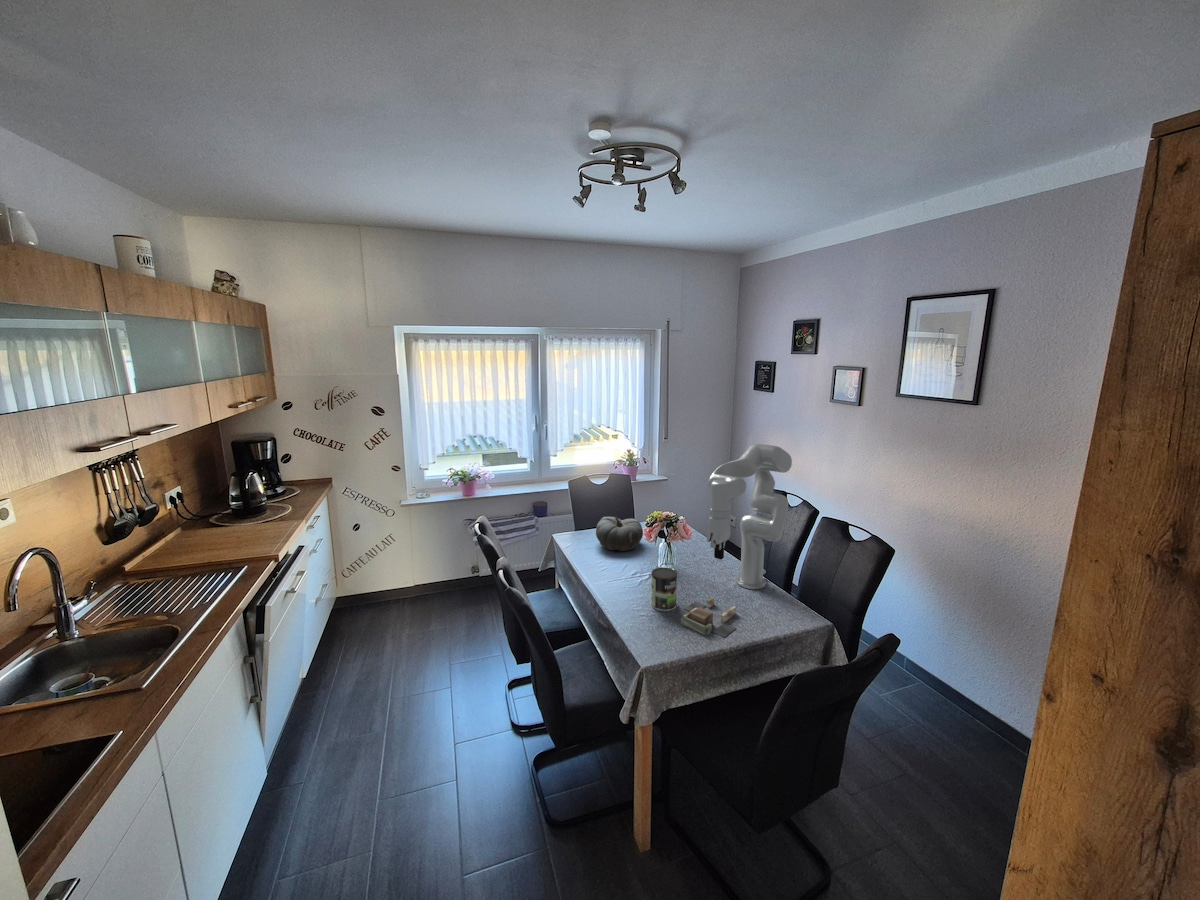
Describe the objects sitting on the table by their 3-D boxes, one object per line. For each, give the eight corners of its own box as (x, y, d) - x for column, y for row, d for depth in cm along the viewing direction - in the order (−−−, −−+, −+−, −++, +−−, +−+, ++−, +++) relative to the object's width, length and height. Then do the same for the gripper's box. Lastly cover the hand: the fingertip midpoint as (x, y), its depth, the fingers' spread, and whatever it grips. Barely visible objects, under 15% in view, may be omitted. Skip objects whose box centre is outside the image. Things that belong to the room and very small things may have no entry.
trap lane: (700, 598, 199) (700, 592, 199) (748, 618, 184) (749, 611, 183) (669, 618, 185) (669, 611, 184) (719, 641, 170) (719, 634, 169)
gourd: (590, 534, 266) (595, 505, 261) (633, 537, 271) (639, 509, 266) (597, 556, 242) (603, 525, 237) (644, 560, 247) (651, 530, 243)
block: (699, 618, 185) (699, 606, 184) (712, 624, 181) (713, 612, 180) (690, 624, 181) (690, 612, 180) (703, 631, 177) (704, 618, 176)
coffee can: (681, 606, 194) (682, 573, 191) (663, 614, 188) (663, 581, 185) (664, 596, 202) (664, 565, 199) (645, 603, 196) (646, 571, 193)
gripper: (722, 505, 188) (720, 549, 191) (700, 515, 177) (699, 561, 181) (739, 510, 182) (737, 554, 186) (718, 520, 172) (716, 567, 176)
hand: (718, 557), depth 184 cm, fingers closed
